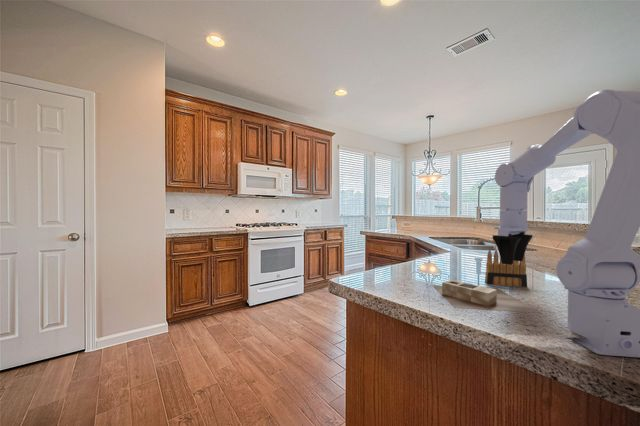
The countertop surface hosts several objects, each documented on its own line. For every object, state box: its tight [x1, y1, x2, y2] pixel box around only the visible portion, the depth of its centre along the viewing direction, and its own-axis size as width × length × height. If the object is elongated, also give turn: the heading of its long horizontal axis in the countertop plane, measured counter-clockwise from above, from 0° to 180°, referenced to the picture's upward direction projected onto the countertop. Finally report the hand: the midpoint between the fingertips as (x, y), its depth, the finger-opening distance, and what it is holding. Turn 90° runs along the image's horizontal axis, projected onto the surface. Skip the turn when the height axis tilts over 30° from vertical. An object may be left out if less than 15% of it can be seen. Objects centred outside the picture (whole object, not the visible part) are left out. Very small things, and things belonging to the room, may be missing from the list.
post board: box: [432, 282, 542, 314], centre depth 67 cm, size 18×18×5 cm
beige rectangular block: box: [441, 279, 497, 306], centre depth 66 cm, size 11×5×3 cm, turn 37°
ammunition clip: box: [484, 249, 528, 288], centre depth 79 cm, size 11×2×12 cm, turn 76°
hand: (512, 262), depth 68 cm, fingers open, 7 cm apart
